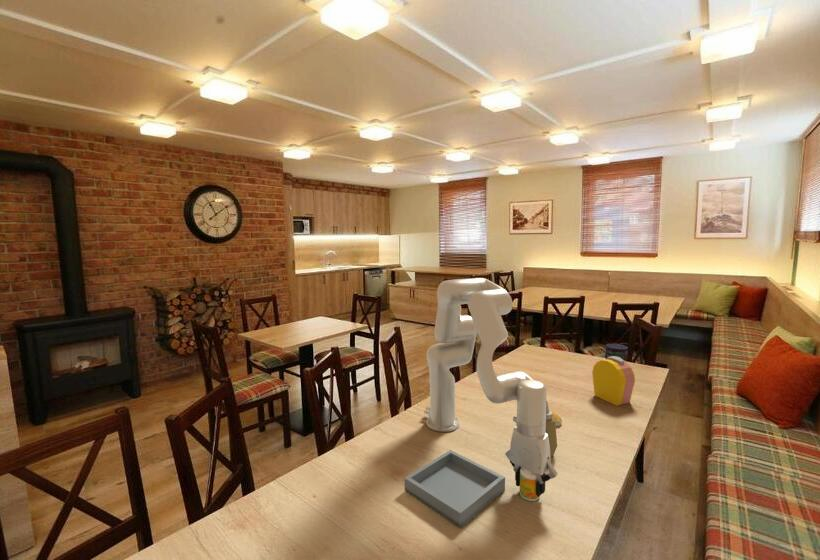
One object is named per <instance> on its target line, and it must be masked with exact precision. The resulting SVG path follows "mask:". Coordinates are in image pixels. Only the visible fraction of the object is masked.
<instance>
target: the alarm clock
mask: <svg viewBox="0 0 820 560" xmlns="http://www.w3.org/2000/svg"><path fill="white" fill-rule="evenodd" d="M634 372H635V371H634V370H633V368H632V367H631V365H629V363H628V362H627V360H626V361H624V360H623V359H621V358H620V357H616V356H611V357H607V359H606V358H605V359H601V360H599V361H597V362H596V363H595V364H594V365H593V367H592V384H593V391H594V392H593V393H594V396H595V397H597V398H599V399H602V400H604V401H606V402H608V403H610V404H612V405H614V406H620V405H626V404H629V403H631V398H632V395H633V390H634V387H635V383H636V376H635V373H634Z"/></svg>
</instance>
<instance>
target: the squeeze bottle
mask: <svg viewBox="0 0 820 560" xmlns="http://www.w3.org/2000/svg"><path fill="white" fill-rule="evenodd" d="M552 411H553V410H550V408H549V403H548V401H547V400H546V433H547V434H548V439H549V445H550V458H552V457H554V456H555V453H556V450H557V448H558V440H557V439H558V437H557V427H556V423H555V419H554V418H553V413H552Z"/></svg>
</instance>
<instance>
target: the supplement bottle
mask: <svg viewBox="0 0 820 560" xmlns="http://www.w3.org/2000/svg"><path fill="white" fill-rule="evenodd" d="M537 482H538V478H537V474H535V473H533V472H530V471H528V470H526V469H524V468H522V467H521V469H520V486H519V495H520V497H521V498H522V499H524V500H525V501H526V500H527V501H529V502H535V501H538V500H539V499H540V497H541V495H540V496H539V497H538V496H537V495H536V483H537Z"/></svg>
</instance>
